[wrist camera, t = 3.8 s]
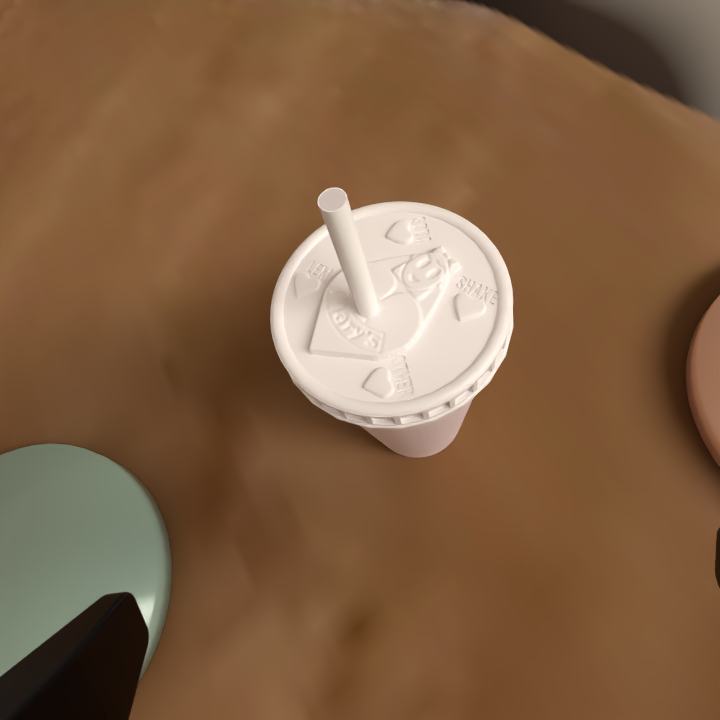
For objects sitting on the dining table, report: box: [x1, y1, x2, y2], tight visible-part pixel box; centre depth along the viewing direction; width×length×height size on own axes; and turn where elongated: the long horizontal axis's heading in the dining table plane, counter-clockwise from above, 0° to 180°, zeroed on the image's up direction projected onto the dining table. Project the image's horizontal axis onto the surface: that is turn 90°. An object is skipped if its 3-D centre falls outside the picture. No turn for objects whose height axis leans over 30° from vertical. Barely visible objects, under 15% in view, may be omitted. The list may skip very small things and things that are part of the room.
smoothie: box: [270, 188, 513, 458], centre depth 17 cm, size 6×6×14 cm
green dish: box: [0, 444, 172, 683], centre depth 22 cm, size 12×12×1 cm
